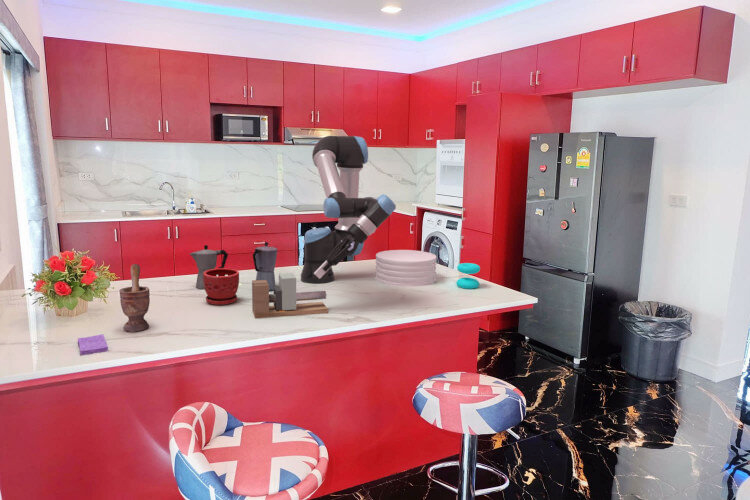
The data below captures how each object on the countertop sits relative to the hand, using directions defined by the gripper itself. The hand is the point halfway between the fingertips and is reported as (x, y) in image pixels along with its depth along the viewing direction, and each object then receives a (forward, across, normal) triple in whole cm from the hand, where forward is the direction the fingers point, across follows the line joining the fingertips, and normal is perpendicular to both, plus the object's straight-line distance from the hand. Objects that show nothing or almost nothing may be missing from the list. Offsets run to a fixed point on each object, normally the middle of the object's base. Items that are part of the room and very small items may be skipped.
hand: (316, 276), depth 190 cm
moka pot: (+20, +34, +2) cm, 39 cm away
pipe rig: (+16, 0, -2) cm, 16 cm away
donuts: (-41, +19, -60) cm, 76 cm away
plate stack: (-25, +38, -45) cm, 64 cm away
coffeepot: (+36, +43, +17) cm, 59 cm away
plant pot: (+33, +18, +14) cm, 40 cm away
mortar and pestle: (+52, -5, +34) cm, 62 cm away
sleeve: (+15, 0, 0) cm, 15 cm away
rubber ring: (+18, 0, +3) cm, 18 cm away
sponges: (+59, -21, +40) cm, 74 cm away
